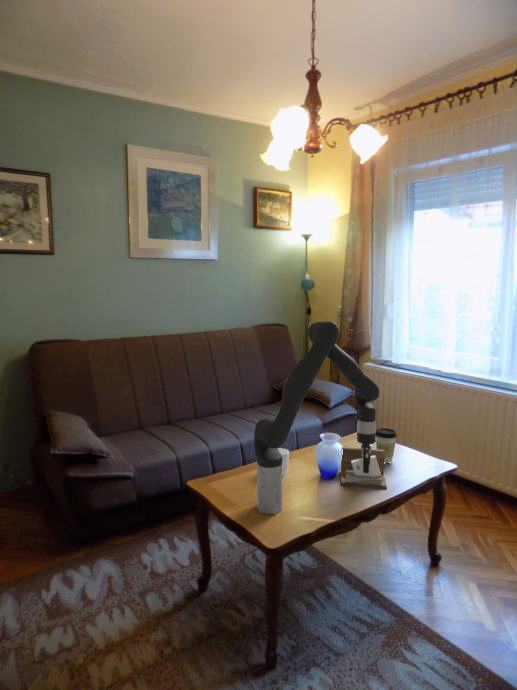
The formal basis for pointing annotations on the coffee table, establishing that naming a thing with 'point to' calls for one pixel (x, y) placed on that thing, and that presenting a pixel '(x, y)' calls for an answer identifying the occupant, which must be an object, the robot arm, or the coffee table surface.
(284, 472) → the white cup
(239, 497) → the coffee table surface
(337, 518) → the coffee table surface
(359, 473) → the white thin panel
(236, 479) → the coffee table surface
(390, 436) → the coffee cup
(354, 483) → the base
